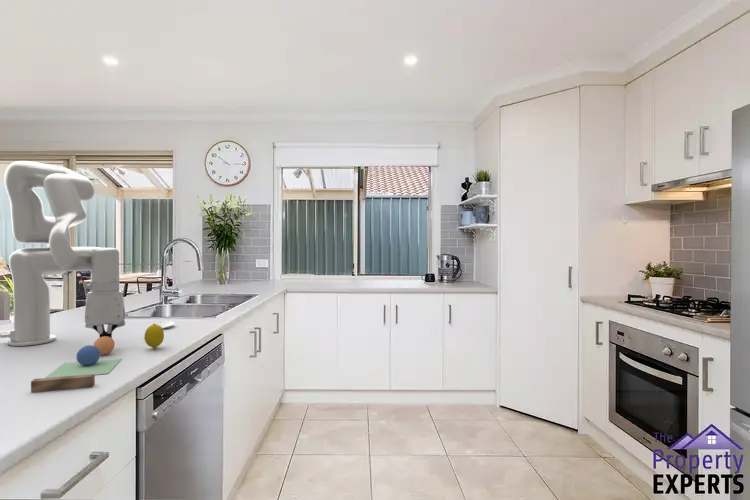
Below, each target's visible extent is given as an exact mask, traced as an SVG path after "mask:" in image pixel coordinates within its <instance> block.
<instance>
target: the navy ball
mask: <svg viewBox="0 0 750 500" xmlns="http://www.w3.org/2000/svg"><path fill="white" fill-rule="evenodd" d="M100 358H101V355H100V351H99V349H98V348H97V347H95V346H93V345H85V346H82V347H81V348H80V349H79V350H78V351H77V353H76V362H79V363H80V364H81V365H84V366H90V365H93V364H95V363H96V362H97V361H99V360H100Z"/></svg>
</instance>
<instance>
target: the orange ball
mask: <svg viewBox="0 0 750 500" xmlns="http://www.w3.org/2000/svg"><path fill="white" fill-rule="evenodd" d="M92 346H95V347H97V348H98V349H99V351H100V356H102V355H103V356H104V355H109V354H110V353H111V352H113V351H114V349H115V346H116V343H115V341H114V339H113V337H112V338H111V337H108V336H103V337H100V336H99V337H98V338H97V339H96V340H95V341H94V343H93V345H92Z"/></svg>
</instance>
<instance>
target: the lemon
mask: <svg viewBox="0 0 750 500" xmlns="http://www.w3.org/2000/svg"><path fill="white" fill-rule="evenodd" d="M156 324H157V323H153V324H152V325H150V326H147V328H146V329H145V331H144V343H145V344H146V345H147V346H149V347H151V348H152V349H157V347H159V346H160V345H161V344H162V343H163V341H164V339H165V333H164V329H162V328H163V327H162V326H161V327H162V328H161V327H160V326H159V325H156Z"/></svg>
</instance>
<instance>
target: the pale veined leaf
mask: <svg viewBox="0 0 750 500" xmlns="http://www.w3.org/2000/svg"><path fill="white" fill-rule="evenodd" d="M155 324H156V325H159V326H160V327H161V328H162V329H163V330H165V329H169V328H171V327H173V326H174V325H175V322H174V321H172V320H169V321H168V320H167V319H166V318H163V320H162V321H159V322H158V323H155Z"/></svg>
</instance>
